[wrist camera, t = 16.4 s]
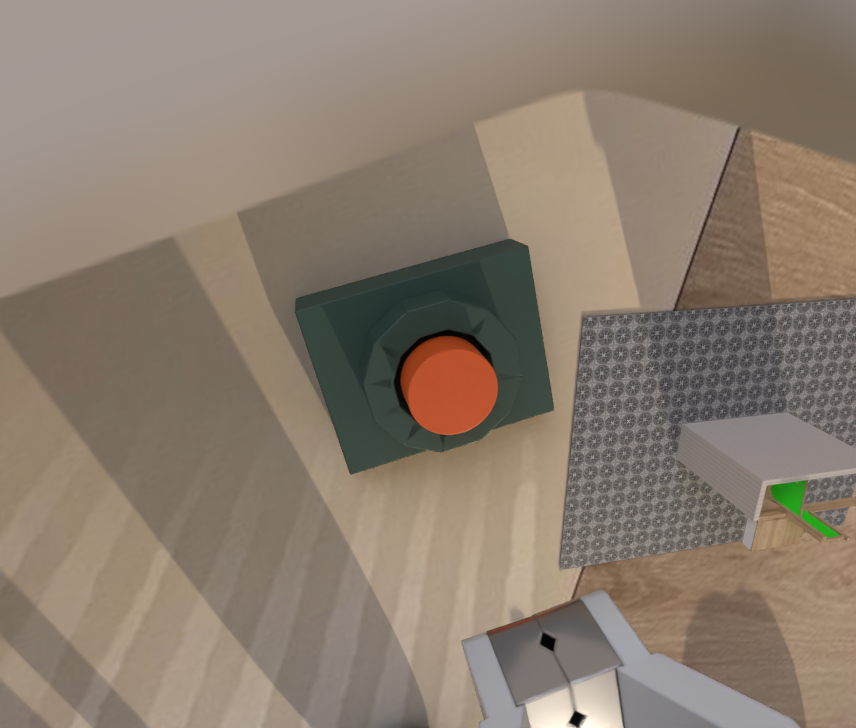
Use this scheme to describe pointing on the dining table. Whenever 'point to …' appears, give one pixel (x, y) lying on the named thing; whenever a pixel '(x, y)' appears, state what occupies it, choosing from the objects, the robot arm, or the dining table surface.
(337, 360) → the dimmer block
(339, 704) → the dining table surface
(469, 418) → the button
